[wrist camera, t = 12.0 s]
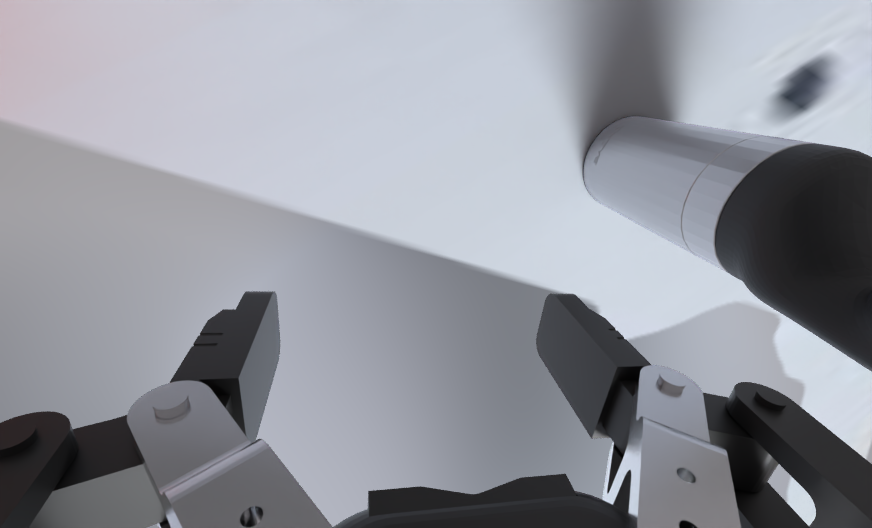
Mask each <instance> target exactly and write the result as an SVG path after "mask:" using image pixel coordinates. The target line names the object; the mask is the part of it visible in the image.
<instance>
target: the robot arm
mask: <svg viewBox="0 0 872 528" xmlns="http://www.w3.org/2000/svg"><path fill="white" fill-rule="evenodd" d="M584 181H585V186H586V188H587V190H588V192H589V194H590V195H591V196H592V197H593V198H594V199H595V200H596V201H598V202H599V203H601V204H602V205H604V206H606V207H608V208H610V209H612V210H613V211H615V212H617V213H619V214H620V215H622V216H624V217H626V218H628V219H630V220H631V221H633V222H635V223H637V224H639V225H641V226H642V227H644V228H646V229H648V230H650V231H652V232H654V233H655V234H657V235H659V236H661V237H663V238H665V239H666V240H668V241H670V242H672V243H674V244H676V245H677V246H679V247H681V248H683V249H685V250H687V251H689V252H690V253H692V254H694V255H696V256H698V257H700V258H702V259H704V260H706V261H707V262H709V263H711V264H713V265H715V266H717V267H718V268H720V269H722V270H724V271H726V272H728V273H730V274H731V275H733V276H734V277H736V278H738V279H740V280H742V281H743V282H744V283H745V285H746V286H747V288H748V289H749V290H750V291H751V292H752V293H753V294H754V295H755V296H756V297H757V298H758V299H760V300H761V301H763V302H764V303H765V304H767V305H769V306H770V307H772V308H773V309H775V310H777V311H778V312H780V313H782V314H783V315H785V316H787V317H788V318H790V319H791V320H793V321H795V322H796V323H798V324H799V325H801V326H802V327H804V328H806V329H807V330H809V331H810V332H812V333H813V334H815V335H816V336H818V337H819V338H821V339H823V340H824V341H826V342H827V343H829V344H830V345H832V346H833V347H835V348H836V349H838V350H839V351H841V352H842V353H844V354H846V355H847V356H849V357H850V358H852V359H853V360H855V361H856V362H858V363H859V364H861V365H862V366H864V367H865V368H867V369H869V370H870V371H872V157H870V156H868V155H866V154H864V153H861V152H859V151H855V150H851V149H847V148H842V147H835V146H829V145H822V144H816V143H810V142H803V141H797V140H790V139H784V138H778V137H770V136H763V135H757V134H750V133H744V132H737V131H731V130H725V129H718V128H712V127H705V126H699V125H692V124H686V123H680V122H673V121H668V120H661V119H654V118H647V117H641V116H632V117H626V118H623V119H620V120H618V121H616V122H614V123H612V124H610V125H609V126H608V127H607V128H605V129H604V130H603V131H602V132H601V133H600V134H599V135H598V136H597V138H596V139H595V140H594V142H593V143H592V145H591V147H590V148H589V151H588V153H587V156H586V159H585V164H584ZM536 344H537V350H538V353H539V356H540V357H541V359H542V360H543V362H544V364H545V365H546V367H547V368H548V370H549V372H550V373H551V375H552V376H553V378H554V380H555V381H556V383H557V384H558V386H559V388H560V389H561V391H562V392H563V394H564V395H565V397H566V399H567V400H568V402H569V403H570V405H571V407H572V408H573V410H574V411H575V413H576V415H577V416H578V418H579V419H580V421H581V422H582V424H583V426H584V427H585V429H586V430H587V432H588V434H589V435H590V437H591V438H592V439H595V438H611V439H612V440H613V444H612V446H611V449H610V452H609V458H608V464H607V471H606V478H605V484H604V492H603V498H602V499H599V498H597V497H594V496H592V495H588V494H585V493H581V492H577V491H574V489H573V487H572V485H571V483H570V481H569V479H568V478H567V476H566V474H559V475H547V476H536V477H524V478H519V479H516V480H514V481H511V482H508V483H506V484H503V485H500V486H498V487H495V488H493V489H490V490H488V491H485V492H482V493H479V494H465V493H459V492H452V491H446V490H440V489H433V488H427V487H410V488H399V489H387V490H376V491H369V492H368V509H367V510H364V511H362V512H359V513H357V514H355V515H353V516H351V517H349V518H347V519H345V520H343V521H342V522H340V523H339V524H338V525H336V526H334V527H332V526H331V524H330V523H329V522H328V521H327V519H326V518H325V517H324V515H323V514H322V513H321V512H320V510H319V509H318V508H317V507H316V505H315V504H314V503H313V501H312V500H311V499H310V497H309V496H308V495H307V494H306V492H305V491H304V490H303V488H302V487H301V486H300V485H299V483H298V482H297V481H296V479H295V478H294V477H293V476H292V474H291V473H290V472H289V471H288V469H287V468H286V467H285V465H284V464H283V463H282V462H281V460H280V459H279V458H278V456H277V455H276V454H275V453H274V451H273V450H272V449H271V447H270V446H269V445H268V444H267V443H266V442H265V441H264V440H262V439H258V440H256V437H257V434H258V430H259V427H260V423H261V420H262V416H263V413H264V409H265V406H266V402H267V399H268V395H269V392H270V388H271V385H272V381H273V377H274V374H275V371H276V368H277V364H278V360H279V354H280V332H279V320H278V305H277V296H276V293H275V292H245V293H244V295H243V297H242V299H241V300H240V302H239V305H238V306H237V308H236V310H222V311H221V312H219V313H218V314H217V315H215V316H214V317H212V318H211V319H209V320H208V321H207V323H206V325H205V326H204V328H203V329H202V331H201V333H200V336H198V337H197V339H196V341H195V342H194V346H193V347H192V348H191V349H190V351H189V352H188V354H187V355H186V357H185V358H184V360H183V362H182V363H181V365H180V367H179V368H178V370H177V371H176V373H175V375H174V377H173V378H172V380H171V381H170V383H168V384H165V385H162V386H159V387H157V388H155V389H153V390H151V391H149V392H147V393H146V394H144V395H143V396H141V397H140V398H139V399H138V400H137V401H136V402H135V403H134V404H133V405H132V406H131V408H130V410H129V411H128V414H127V415H125V416H123V417H119V418H116V419H112V420H108V421H104V422H101V423H96V424H93V425H88V426H84V427H80V428H76V429H72V427H71V424H70V421H69V419H68V418H67V417H66V416H65V415H63V414H60V413H57V412H36V413H30V414H25V415H22V416H18V417H15V418H12V419H9V420H6V421H4V422H2V423H0V528H146V527H149V526H152V525H154V524H157V525H158V527H159V528H872V464H871V463H869V462H868V461H867V460H866V459H865V458H863V457H862V456H861V455H860V454H858V453H857V452H856V451H855V450H853V449H852V448H851V447H850V446H848V445H847V444H846V443H845V442H843V441H842V440H841V439H840V438H838V437H837V436H836V435H835V434H833V433H832V432H831V431H830V430H828V429H827V428H826V427H825V426H823V425H822V424H821V423H820V422H819V421H817V420H816V419H815V418H814V417H812V416H811V415H810V414H809V413H807V412H806V411H805V410H804V409H802V408H801V407H800V406H799V405H797V404H796V403H795V402H794V401H792V400H791V399H789V398H788V397H786V396H785V395H783V394H781V393H779V392H778V391H775V390H773V389H771V388H768V387H766V386H763V385H760V384H756V383H751V382H741V383H738V384H736V385H735V387H734V389H733V391H732V393H731V395H730V397H729V398H727V397H723V396H717V395H712V394H707V393H703V392H702V390H701V389H700V387H699V386H698V385H697V384H696V383H695V382H694V381H693V380H692V379H690V378H688V377H687V376H686V375H684V374H682V373H680V372H678V371H676V370H674V369H671V368H668V367H664V366H658V365H651V364H650V363H649V362H648V361H647V360H646V359H645V358H644V357H643V356H642V355H641V354H640V353H639V352H638V351H637V350H636V349H635V348H634V347H633V346H632V345H631V344H630V343H629V342H628V341H627V340H626V339H624V337H623V336H622V335H621V334H620V333H619V332H618V331H616V330H615V328H614V327H613V326H612V325H611V324H610V323H609V322H608V321H607V320H606V319H605V318H604V317H602V316H600V315H599V314H597V313H595V312H594V311H592V310H590V309H589V308H588V307H587V306H586V305H585V304H584V303H583V302H582V301H581V300H580V299H579V298H578V297H577V296H576V295H574V294H549V295H548V296H547V298H546V300H545V304H544V309H543V312H542V316H541V321H540V325H539V329H538V333H537V339H536ZM778 464H780V465H781V466H782V467H783V468H784V469H785V470H786V471H787V472H788V473H789V474H790V475H791V476H792V477H793V478H794V479H795V480H796V481H797V482H798V483H799V484H800V485H801V486H802V487H803V488H804V489H805V490H806V491H807V492H808V494H809V495H810V496H811V498H812V500H813V502H814V504H815V507H816V517H815V519H814V521H813V522H812V524H811V525H810V526H808V525H807V524H806V523H805V522H804V521H803V520H802V519H801V518H800V517H799V515H798V514H797V513H796V512H795V511H794V510H793V509H792V508H791V507H790V506H789V505H788V504H787V503H786V502H785V500H784V499H783V498H782V497H781V496H780V495H779V494H778V493H777V492H776V491H775V490H774V489H773V488H772V487H771V485H770V484H769V483H768V482H767V481H768V480H769V478H770V476H771V475H772V473H773V471H774V470H775V469H776V467H777V465H778Z"/></svg>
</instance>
